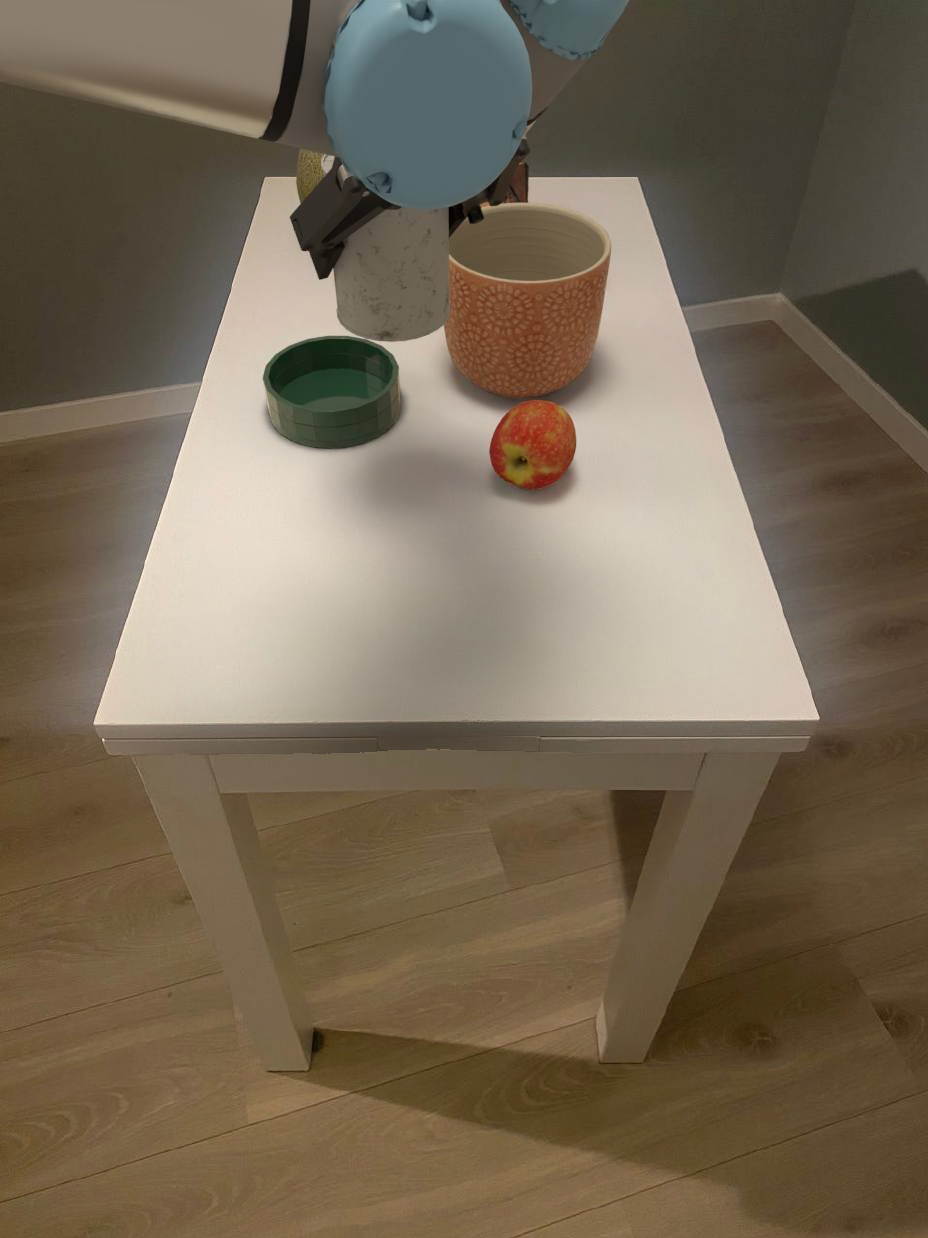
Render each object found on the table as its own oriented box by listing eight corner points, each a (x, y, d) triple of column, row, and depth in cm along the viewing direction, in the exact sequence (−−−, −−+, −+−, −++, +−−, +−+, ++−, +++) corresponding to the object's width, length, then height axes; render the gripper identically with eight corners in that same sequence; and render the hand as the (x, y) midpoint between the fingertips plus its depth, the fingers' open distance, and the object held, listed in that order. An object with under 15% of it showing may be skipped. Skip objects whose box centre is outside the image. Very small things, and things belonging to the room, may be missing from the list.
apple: (478, 490, 90) (479, 422, 84) (510, 441, 95) (514, 374, 89) (555, 513, 88) (562, 444, 82) (584, 462, 93) (593, 394, 87)
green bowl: (310, 465, 93) (305, 428, 89) (247, 399, 100) (239, 362, 97) (425, 417, 98) (424, 380, 95) (357, 357, 106) (353, 321, 102)
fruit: (393, 218, 129) (386, 101, 118) (382, 257, 121) (374, 136, 110) (311, 215, 129) (297, 98, 118) (295, 254, 122) (279, 133, 111)
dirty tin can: (400, 355, 74) (392, 199, 65) (312, 316, 78) (293, 163, 69) (473, 306, 79) (475, 155, 70) (387, 271, 83) (379, 124, 74)
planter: (578, 327, 110) (591, 197, 99) (610, 412, 99) (629, 277, 88) (435, 336, 109) (431, 205, 97) (450, 423, 97) (449, 287, 86)
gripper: (317, 204, 53) (264, 325, 74) (637, 134, 60) (505, 262, 81) (271, 72, 52) (230, 233, 73) (600, 17, 60) (477, 177, 81)
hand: (375, 248), depth 77 cm, fingers closed on dirty tin can, 9 cm apart
